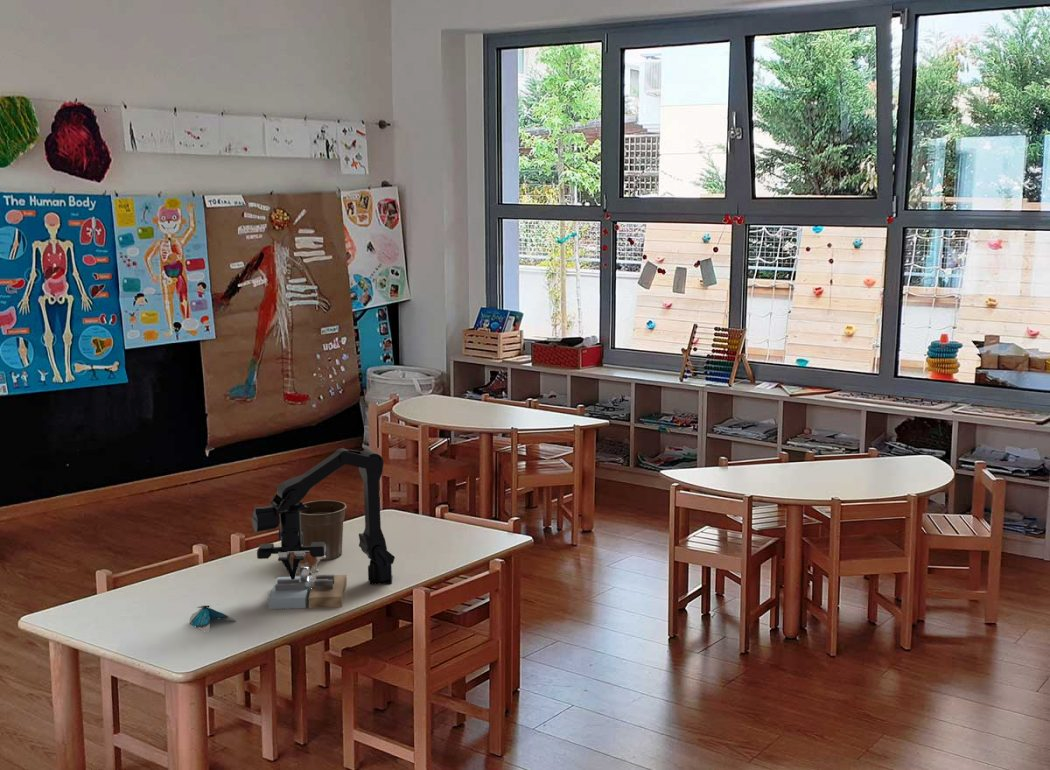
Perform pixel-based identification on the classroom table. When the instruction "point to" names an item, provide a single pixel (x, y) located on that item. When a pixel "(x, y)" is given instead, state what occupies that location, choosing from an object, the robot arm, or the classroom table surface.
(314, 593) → the jamb
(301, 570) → the bolt
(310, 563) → the bull figurine
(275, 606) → the door panel
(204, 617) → the decorative butterfly
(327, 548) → the plant pot
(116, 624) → the classroom table surface
